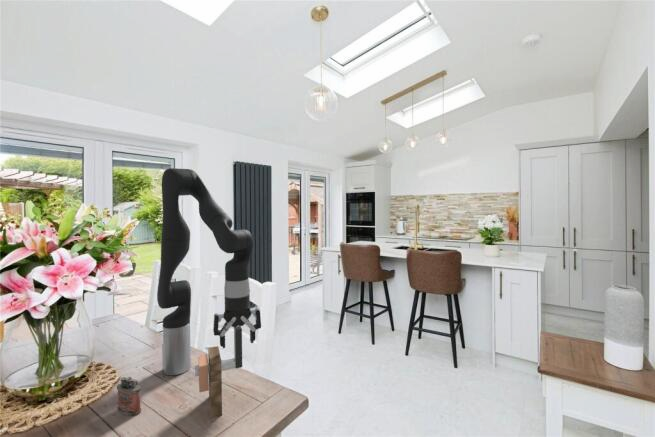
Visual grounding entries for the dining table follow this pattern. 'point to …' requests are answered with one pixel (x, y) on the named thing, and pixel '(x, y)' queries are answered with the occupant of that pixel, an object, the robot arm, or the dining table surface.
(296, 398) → the dining table surface
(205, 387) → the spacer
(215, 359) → the block
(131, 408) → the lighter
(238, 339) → the l-shaped bracket
